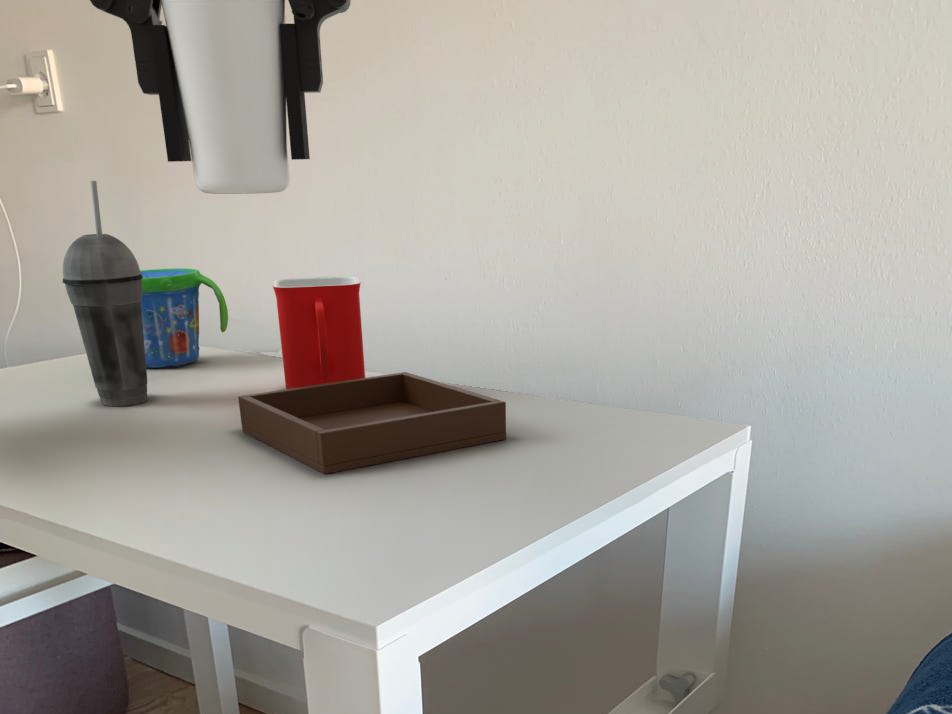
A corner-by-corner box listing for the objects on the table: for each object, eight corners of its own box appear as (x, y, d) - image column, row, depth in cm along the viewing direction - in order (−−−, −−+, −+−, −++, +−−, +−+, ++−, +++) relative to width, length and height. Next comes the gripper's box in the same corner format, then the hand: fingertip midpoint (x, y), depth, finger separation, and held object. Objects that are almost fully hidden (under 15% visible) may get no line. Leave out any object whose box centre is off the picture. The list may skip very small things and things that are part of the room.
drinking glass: (327, 191, 59) (304, -124, 52) (247, 195, 54) (211, -154, 47) (240, 190, 62) (209, -107, 55) (157, 194, 57) (112, -133, 50)
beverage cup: (70, 407, 98) (25, 182, 89) (112, 392, 104) (74, 180, 95) (137, 410, 96) (98, 181, 87) (175, 394, 102) (142, 179, 94)
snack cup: (83, 372, 115) (65, 278, 110) (121, 356, 124) (105, 269, 120) (216, 371, 113) (203, 276, 109) (244, 355, 123) (233, 266, 118)
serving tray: (242, 431, 87) (237, 396, 86) (407, 404, 96) (405, 371, 94) (324, 474, 75) (320, 433, 74) (506, 439, 83) (506, 401, 82)
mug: (285, 386, 105) (274, 278, 100) (364, 381, 106) (356, 275, 101) (284, 411, 94) (271, 292, 90) (372, 406, 95) (363, 288, 91)
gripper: (-61, -431, 43) (48, 163, 53) (383, -427, 44) (407, 157, 54) (3, -352, 50) (89, 162, 60) (388, -350, 51) (408, 157, 61)
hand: (240, 159), depth 57 cm, fingers closed on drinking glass, 6 cm apart
